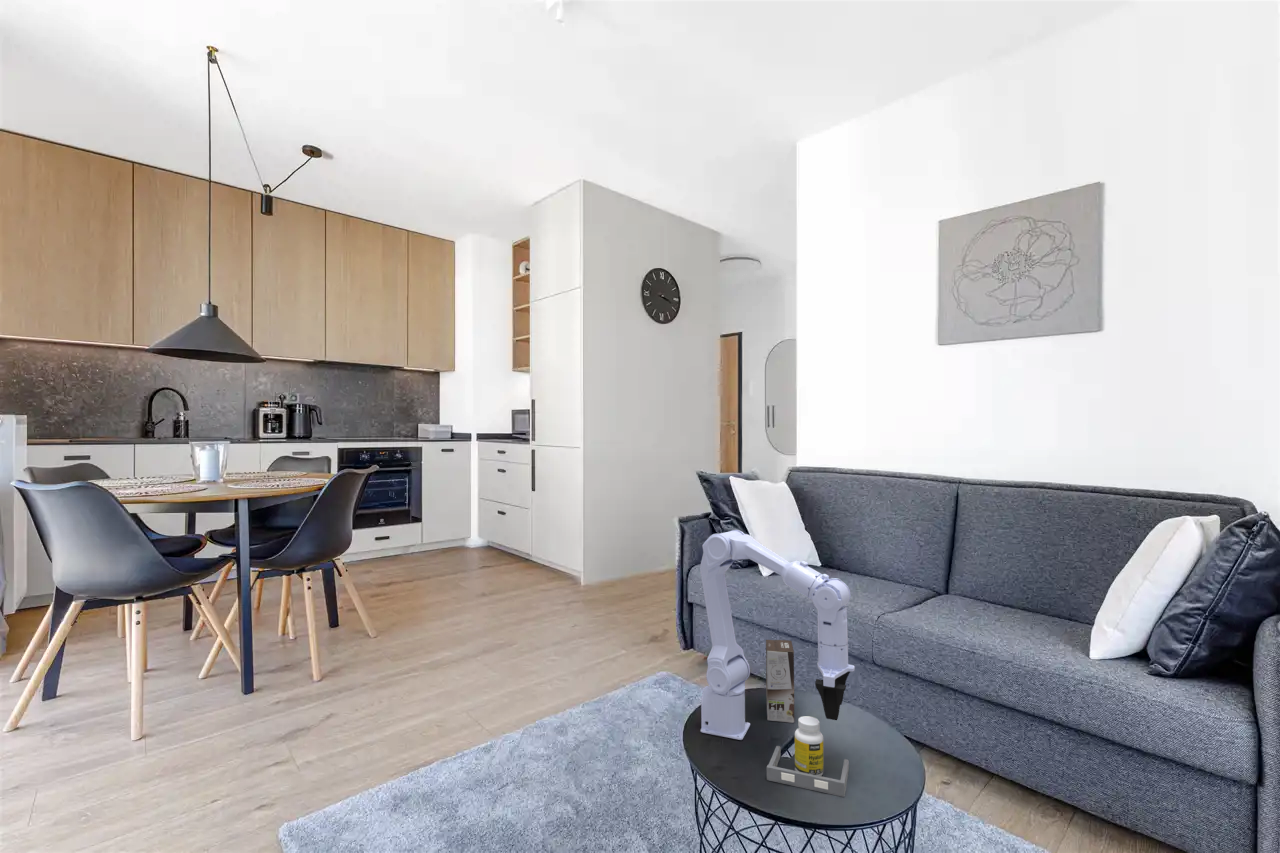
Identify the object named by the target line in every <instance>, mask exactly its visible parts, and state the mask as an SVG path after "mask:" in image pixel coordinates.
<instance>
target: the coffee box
mask: <svg viewBox="0 0 1280 853" xmlns="http://www.w3.org/2000/svg"><path fill="white" fill-rule="evenodd" d="M765 680H766V681H765V682H766V683H765V685H766V688H765V690H766V694H765V695H766V717H767V721H769V722H770V721H771V722H781V723H782V722H783V723H791V724H793V723H795V651H794V645H793V642H792V640H788V639H765Z"/></svg>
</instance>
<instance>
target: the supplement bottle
mask: <svg viewBox="0 0 1280 853" xmlns="http://www.w3.org/2000/svg"><path fill="white" fill-rule="evenodd" d="M797 719H798V720H797V722H798V724H797V725H798V726H797V727H798V728H796V730H795V731H794V771H798V772H803V773H808V774H813V775H817V776H822V775H823V774H824V735H823V733H822V732H821V731H820V728H821V726H820V725H821V724H820V721H819V719H818V718H817V717H815V716H809V715H807V716H805V715H804V716H802V715H801V716H800V717H798V718H797Z"/></svg>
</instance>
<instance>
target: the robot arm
mask: <svg viewBox="0 0 1280 853" xmlns="http://www.w3.org/2000/svg"><path fill="white" fill-rule="evenodd" d="M702 552H703V553H702V557H701V561H700V566H699V572H700V578H701V585H702V589H703V591H702V592H703V596H704V603H705V609H706V615H707V621H708V627H709V633H710V640H711V650H710V652H709V654H708V656H707V660H706V662H707V669H706V682H707V684H708V685H705V686H704V688H703V690H702V693H701V701H700V704H701V705H700V706H701V708H700V709H701V715H700V716H701V718H700V719H701V721H700V722H701V728H700V733H703V734H708V735H712V736H717V737H724V738H729V739H733V740H739V741H742V740H744V738H745V736H746V734H747V733H748V730H749V729H750V727H751V723H750V722H748V721H747V722H746V693H745V692H746V689H745V688H746V681H747V680H748V679H749V677H750V675H751V673H750V672H751V667H750V664H749V661H748V660H747V658H746V657H745V653H744V649H743V647H741V646H740V644H738V643H737V641H736V640H737V639H736V635H735V634H736V633H735V628H734V627H735V626H734V623H733V621H734V620H733V615H732V610H731V602H730V598H729V592H728V587H727V579H726V572H727V571H728V569H729V568H730V567H731V566H732V565H733V563H735V562H736V561H738V560H751V561H752V562H755V563H756V564H758V565H760V566H762V567H764V568H765V569H768V570H770V571H771V572H773V573H775V574H777V575H779V576H781V579H782V581H783V584H784V585H786V586H787V587H789V588H790V589H792V590H793V591H796V592H797V593H799V594H800V595H801V596H803V597H805V598H807V599H809V600H810V601H812V604H813V605H814V607H815V608H816V610H817V655H818V656H817V657H818V658H817V660H818V661H817V663H816V665H817V666H816V667H817V669H818V670H819V672H820V673H821V675H822V678H823V679H818V678H816V679H815V681H814V685H815V688H816V690H817V691H818V694H819V696H820V698H821V703H822V705H823V712H824V715H825V719H827V720H832V721H837V720H838V718H839V715H840V714H839V713H840V709H841V708H840V707H841V706H842V704H843V700H844V695H845V690H846V688H847V685H846V682H847V679H848V677H849V675H850V673H851V672H855V670H856V669H855V668H856V666H855V665H853V664H850V663H849V643H848V642H849V641H848V640H849V638H848V611H847V609H848V607H847V605H849V602H851V597H852V596H851V590H850V587H849V586H848V585H847V584H846V583H845V582H844V581H842V580H841V578H835V577H832V578H829V577H830V575H828V574H826V573H823V574H822V573H821V572H819V571H817V570H815V569H814V568H812V567H811V566H809V562H807V561H805V560H802V561H799V560H794V561H791V562H790V561H788V560H787V559H786V558H784V557H782V556H781V555H779V554H777V553H776V552H774V551H773V550H771V549H770V548H768V547H767V546H765V545H763V544H762V543H760V542H758V540H756V539H754V537H753V536H752V535H750V534H747V533H744V532H743V531H742V530H740V529H733V530H732V529H731V530H729V531H726V532H720V533H713V534H710V535H709V536H708V537H707V539H706V540H705V541H704V542H703V544H702Z"/></svg>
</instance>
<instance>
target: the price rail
mask: <svg viewBox="0 0 1280 853" xmlns="http://www.w3.org/2000/svg"><path fill="white" fill-rule="evenodd" d="M781 752H782V751H781V746H780V745H776V746H775V749H774V751H773V753H772V756H771V758H770V760H769V762H768V764H767V766H766V781H770V782H773V783H774V782H775V783H779V784H783V785H788V786H792V787H798V788H801V789H807V790H811V791H815V792H820V793H824V794H828V795H834V796H837V797H842V798H845V796H846V789H847V783H848V778H849V772H850V763H849V762H850V761H849V759H846V758H844V759H843V764H842V770H841V775H840V779H836V778H832V777H825V776H822V775H821V776H817V775H813V774H808V773H803V772H798V771H796V770H795V769H794V770H793V769H789V768H784V767H783V768H782V767H779V766H778V764H779V761H780V759H781V755H782V754H781Z"/></svg>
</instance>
